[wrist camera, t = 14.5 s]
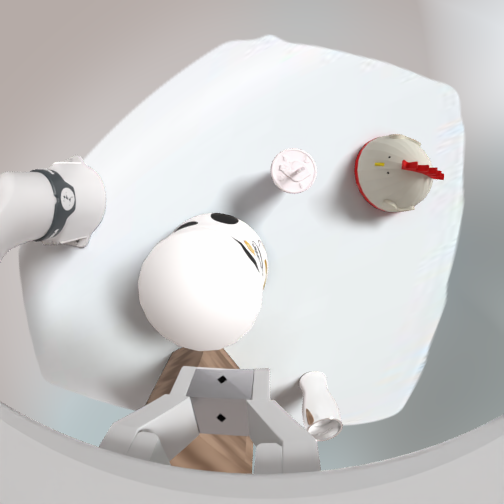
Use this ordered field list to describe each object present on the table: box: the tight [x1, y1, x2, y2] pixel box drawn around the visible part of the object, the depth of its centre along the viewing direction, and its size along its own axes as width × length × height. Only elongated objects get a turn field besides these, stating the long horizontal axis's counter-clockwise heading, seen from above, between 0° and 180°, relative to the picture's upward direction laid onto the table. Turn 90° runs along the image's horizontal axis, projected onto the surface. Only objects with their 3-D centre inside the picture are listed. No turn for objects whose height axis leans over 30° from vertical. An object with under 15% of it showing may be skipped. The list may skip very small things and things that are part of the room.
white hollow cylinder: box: [299, 371, 343, 441], centre depth 47 cm, size 7×7×15 cm
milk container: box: [138, 213, 268, 351], centre depth 41 cm, size 17×17×18 cm
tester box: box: [145, 347, 253, 474], centre depth 43 cm, size 10×16×24 cm, turn 33°
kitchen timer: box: [354, 134, 444, 212], centre depth 38 cm, size 14×14×15 cm
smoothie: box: [271, 148, 317, 194], centre depth 39 cm, size 6×6×14 cm
